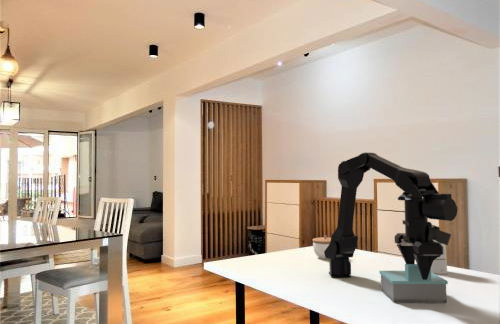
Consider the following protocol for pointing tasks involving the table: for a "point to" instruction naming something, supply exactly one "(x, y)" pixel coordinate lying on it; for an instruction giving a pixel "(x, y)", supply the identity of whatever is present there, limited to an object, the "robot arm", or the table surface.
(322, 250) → the lidded jar
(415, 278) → the lid
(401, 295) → the tub
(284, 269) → the table surface
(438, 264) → the syrup box
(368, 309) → the table surface
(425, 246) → the robot arm
